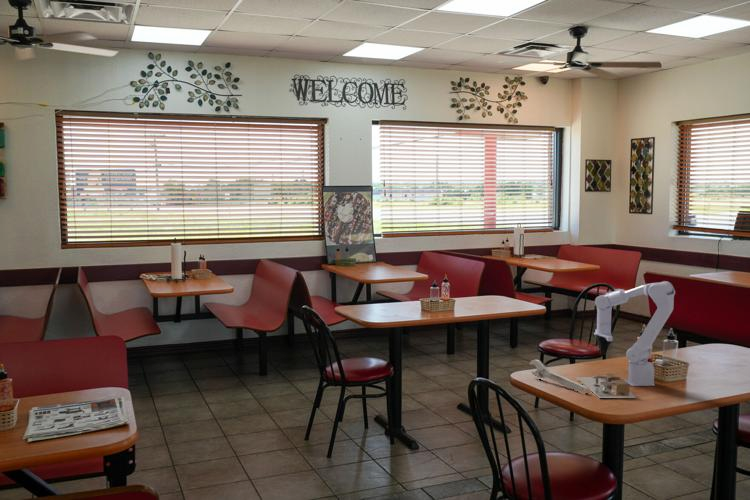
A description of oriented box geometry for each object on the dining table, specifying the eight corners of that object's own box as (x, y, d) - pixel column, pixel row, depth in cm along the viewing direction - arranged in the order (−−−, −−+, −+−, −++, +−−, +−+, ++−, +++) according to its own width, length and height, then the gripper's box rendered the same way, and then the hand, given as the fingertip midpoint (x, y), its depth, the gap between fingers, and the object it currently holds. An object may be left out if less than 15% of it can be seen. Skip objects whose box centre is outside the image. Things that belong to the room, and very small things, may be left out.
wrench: (585, 402, 263) (527, 375, 287) (588, 401, 264) (530, 375, 288) (587, 382, 261) (529, 358, 285) (590, 382, 262) (532, 357, 286)
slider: (615, 382, 273) (615, 373, 273) (620, 386, 268) (620, 377, 268) (590, 382, 273) (590, 374, 272) (594, 386, 268) (595, 377, 267)
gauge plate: (609, 378, 283) (609, 367, 283) (635, 398, 257) (635, 385, 257) (576, 379, 283) (576, 367, 282) (599, 399, 257) (599, 386, 256)
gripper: (588, 319, 293) (587, 350, 294) (601, 326, 278) (600, 358, 280) (604, 319, 293) (603, 349, 294) (617, 326, 279) (616, 358, 280)
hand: (603, 354), depth 287 cm, fingers closed
